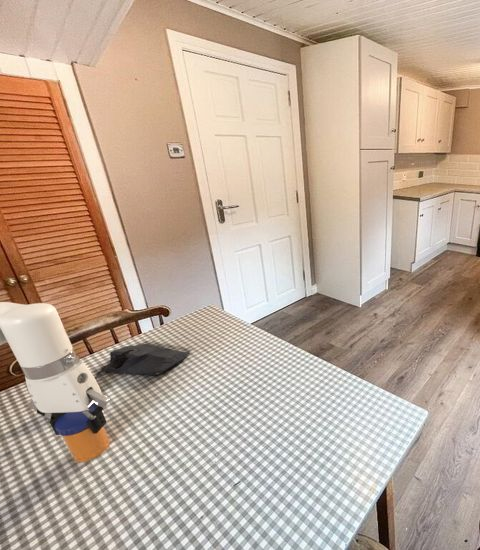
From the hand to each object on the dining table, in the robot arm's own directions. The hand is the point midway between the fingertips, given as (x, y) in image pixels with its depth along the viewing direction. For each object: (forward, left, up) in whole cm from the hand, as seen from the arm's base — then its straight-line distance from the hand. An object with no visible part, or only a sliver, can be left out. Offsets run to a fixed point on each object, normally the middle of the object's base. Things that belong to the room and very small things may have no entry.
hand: (82, 428), depth 67 cm
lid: (0, 0, +3) cm, 3 cm away
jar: (0, 0, -7) cm, 7 cm away
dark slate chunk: (+2, +32, -7) cm, 33 cm away
